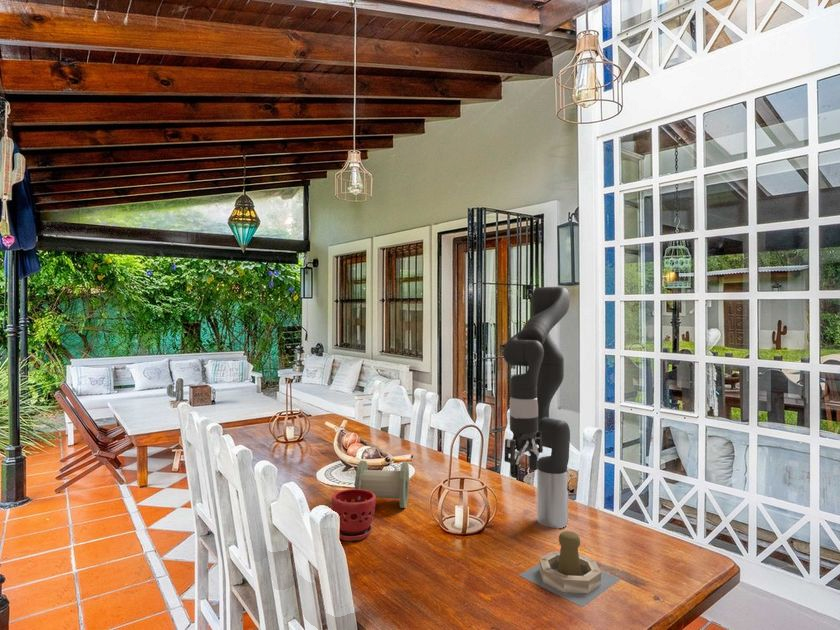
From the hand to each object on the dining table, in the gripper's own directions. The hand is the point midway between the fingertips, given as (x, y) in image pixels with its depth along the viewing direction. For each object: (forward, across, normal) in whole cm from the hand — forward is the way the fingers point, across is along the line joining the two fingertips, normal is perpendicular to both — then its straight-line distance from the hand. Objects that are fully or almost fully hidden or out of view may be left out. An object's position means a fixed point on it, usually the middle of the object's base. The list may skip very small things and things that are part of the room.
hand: (524, 473), depth 134 cm
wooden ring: (+23, 0, +13) cm, 27 cm away
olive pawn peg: (+24, -1, +13) cm, 27 cm away
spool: (+24, +4, -56) cm, 61 cm away
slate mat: (+24, 0, +13) cm, 27 cm away
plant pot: (+24, +24, -45) cm, 56 cm away
